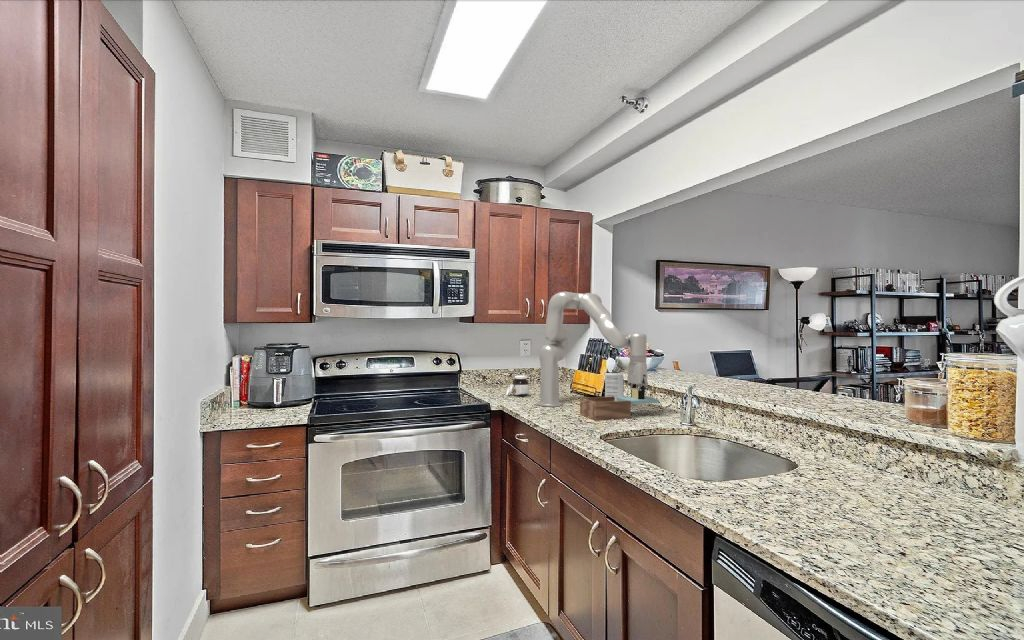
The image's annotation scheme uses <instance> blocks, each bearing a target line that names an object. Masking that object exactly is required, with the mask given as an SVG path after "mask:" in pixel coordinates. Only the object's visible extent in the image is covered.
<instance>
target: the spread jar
mask: <svg viewBox="0 0 1024 640" xmlns="http://www.w3.org/2000/svg"><path fill="white" fill-rule="evenodd" d="M506 390H507V391H506V396H508V397H510V395H511V393H512V395H513V396H514V397H517V398H524V397H527V396H528V395H529V392H530V383H529V381H528V379H527V375H521V374H519V375H514V379H513V380H512V383H510V384H509V385H508V387H507V389H506Z"/></svg>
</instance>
